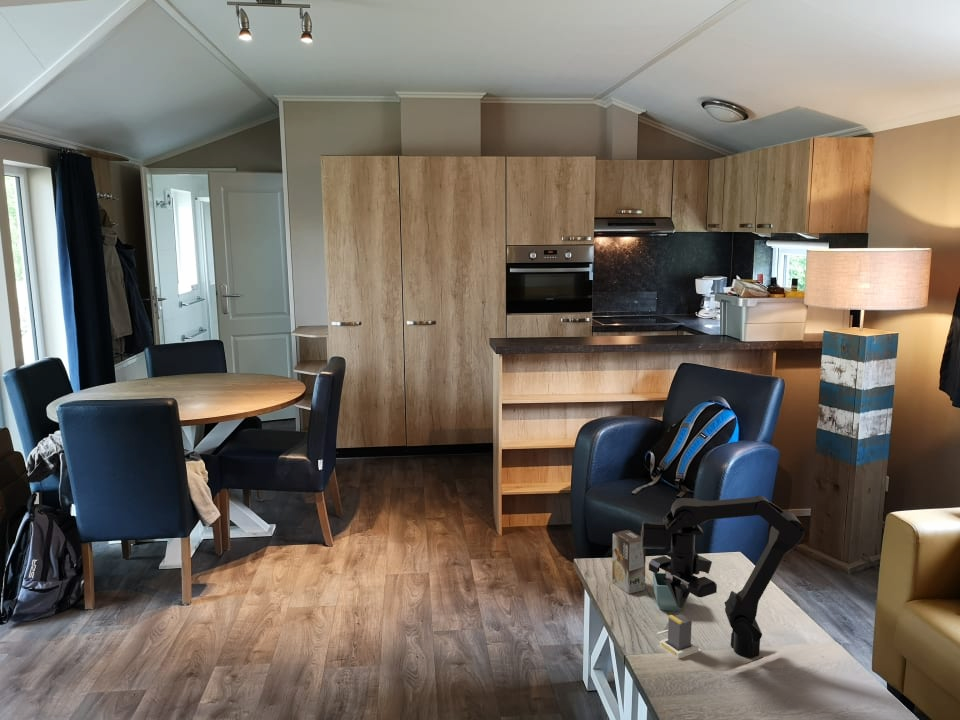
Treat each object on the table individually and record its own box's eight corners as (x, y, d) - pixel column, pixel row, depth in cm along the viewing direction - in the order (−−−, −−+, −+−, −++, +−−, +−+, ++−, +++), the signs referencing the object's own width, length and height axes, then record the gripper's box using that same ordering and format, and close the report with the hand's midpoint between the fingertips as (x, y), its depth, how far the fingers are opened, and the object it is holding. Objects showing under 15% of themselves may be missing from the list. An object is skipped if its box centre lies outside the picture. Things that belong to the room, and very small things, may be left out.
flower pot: (682, 602, 222) (683, 573, 221) (687, 617, 214) (688, 586, 212) (651, 601, 223) (652, 572, 222) (655, 615, 214) (656, 585, 213)
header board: (707, 652, 195) (707, 643, 195) (674, 664, 190) (675, 654, 190) (672, 630, 207) (672, 621, 206) (640, 640, 201) (640, 631, 201)
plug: (690, 650, 194) (691, 618, 193) (678, 654, 192) (679, 622, 191) (678, 642, 198) (679, 611, 196) (666, 646, 196) (668, 615, 194)
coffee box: (646, 590, 230) (647, 539, 227) (628, 594, 227) (629, 543, 225) (627, 578, 238) (629, 529, 235) (610, 582, 235) (611, 532, 233)
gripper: (734, 556, 188) (731, 615, 190) (680, 531, 204) (678, 586, 206) (700, 565, 182) (698, 626, 185) (648, 539, 198) (646, 595, 201)
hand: (680, 607), depth 194 cm, fingers closed
